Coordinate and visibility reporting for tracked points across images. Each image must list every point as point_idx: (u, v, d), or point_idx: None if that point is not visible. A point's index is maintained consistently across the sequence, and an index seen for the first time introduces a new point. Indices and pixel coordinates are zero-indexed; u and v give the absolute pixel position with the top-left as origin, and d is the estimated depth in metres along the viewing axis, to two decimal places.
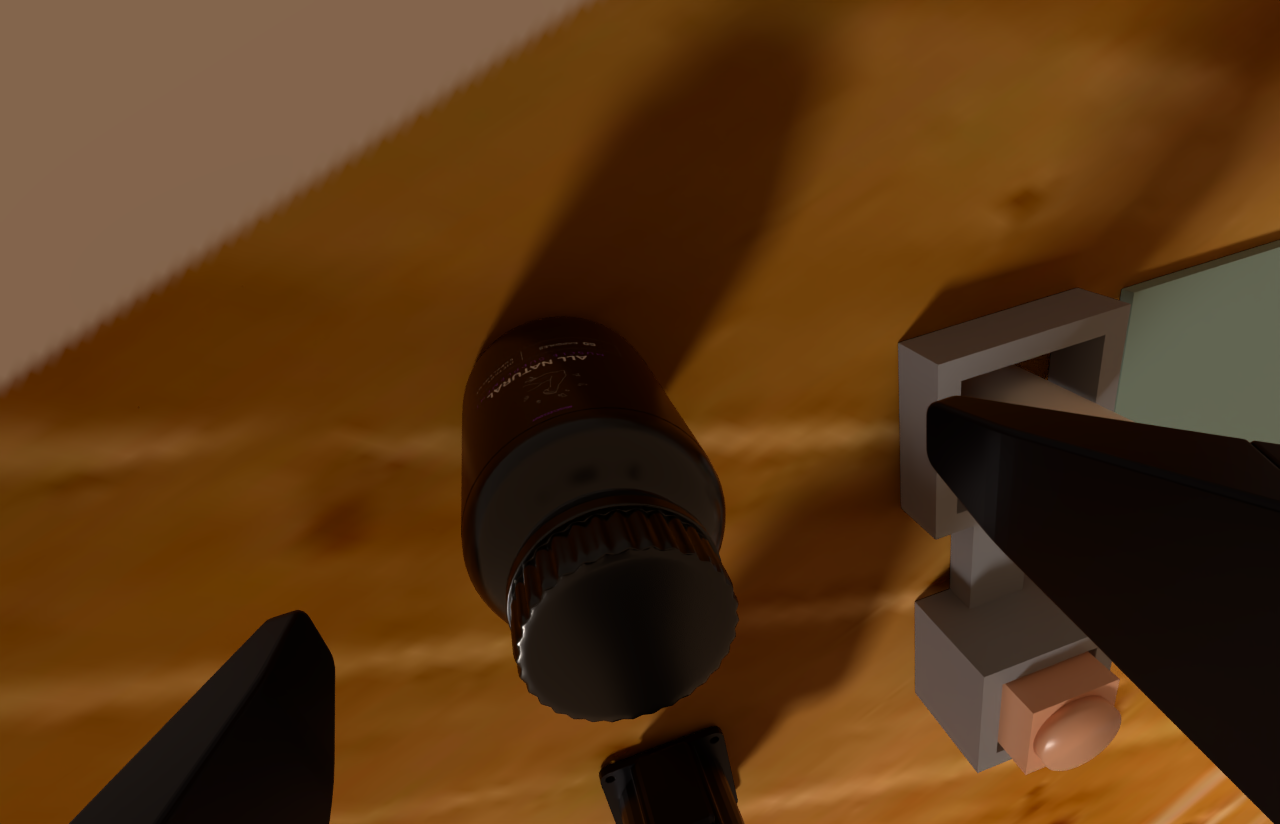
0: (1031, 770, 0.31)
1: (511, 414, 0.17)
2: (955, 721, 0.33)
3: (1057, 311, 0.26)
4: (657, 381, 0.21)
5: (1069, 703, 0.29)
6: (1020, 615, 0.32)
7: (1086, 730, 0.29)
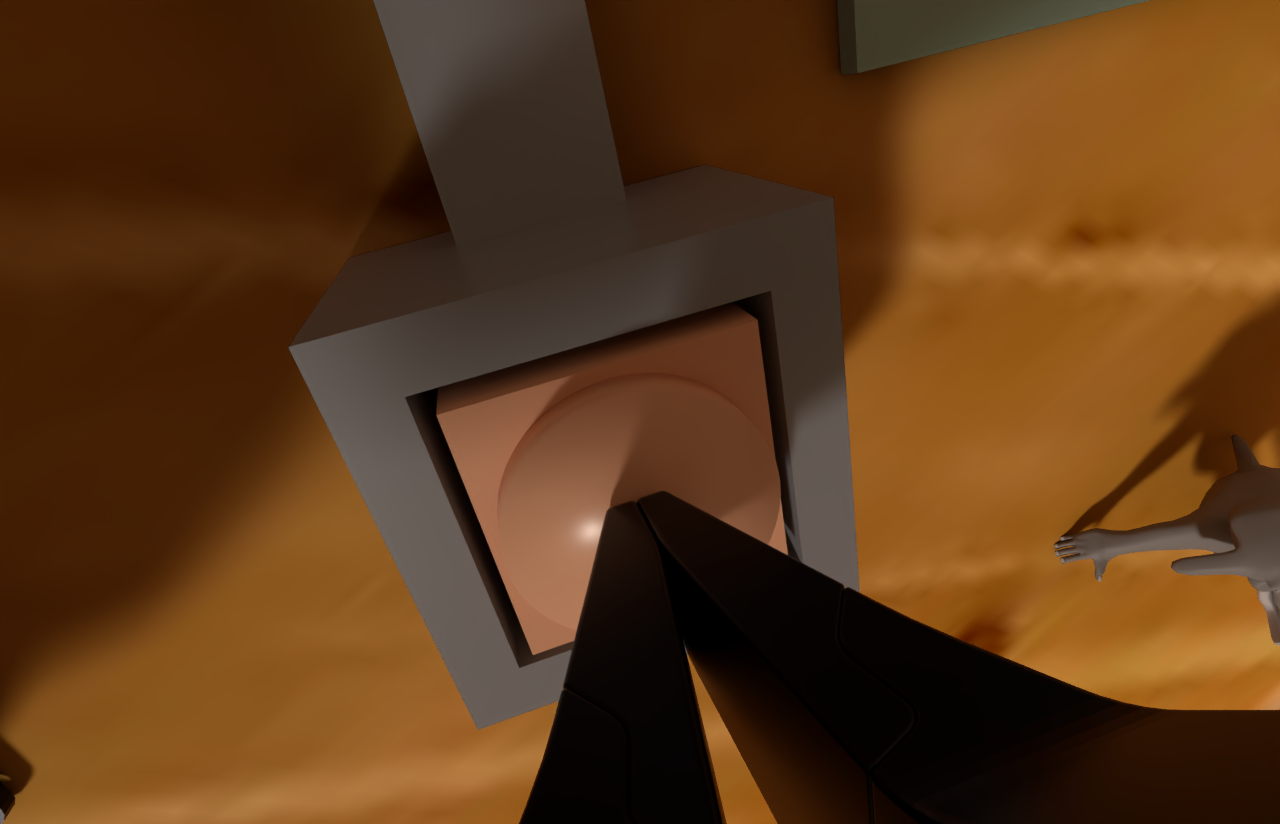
0: (547, 641, 0.10)
1: None
2: None
3: None
4: None
5: (580, 391, 0.09)
6: (567, 232, 0.10)
7: (645, 485, 0.09)
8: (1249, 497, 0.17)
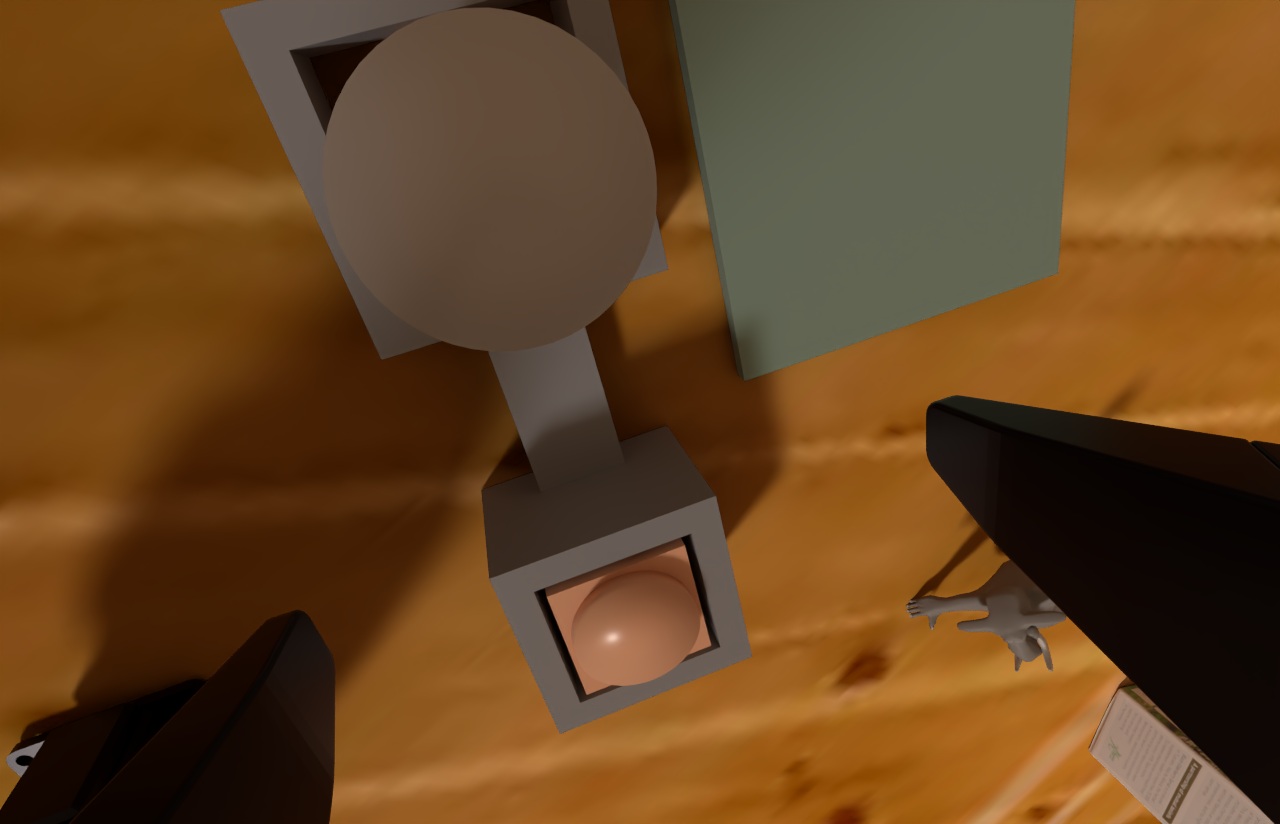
0: (593, 688, 0.21)
1: None
2: None
3: None
4: None
5: (607, 581, 0.20)
6: (597, 495, 0.21)
7: (638, 620, 0.20)
8: (1006, 581, 0.28)
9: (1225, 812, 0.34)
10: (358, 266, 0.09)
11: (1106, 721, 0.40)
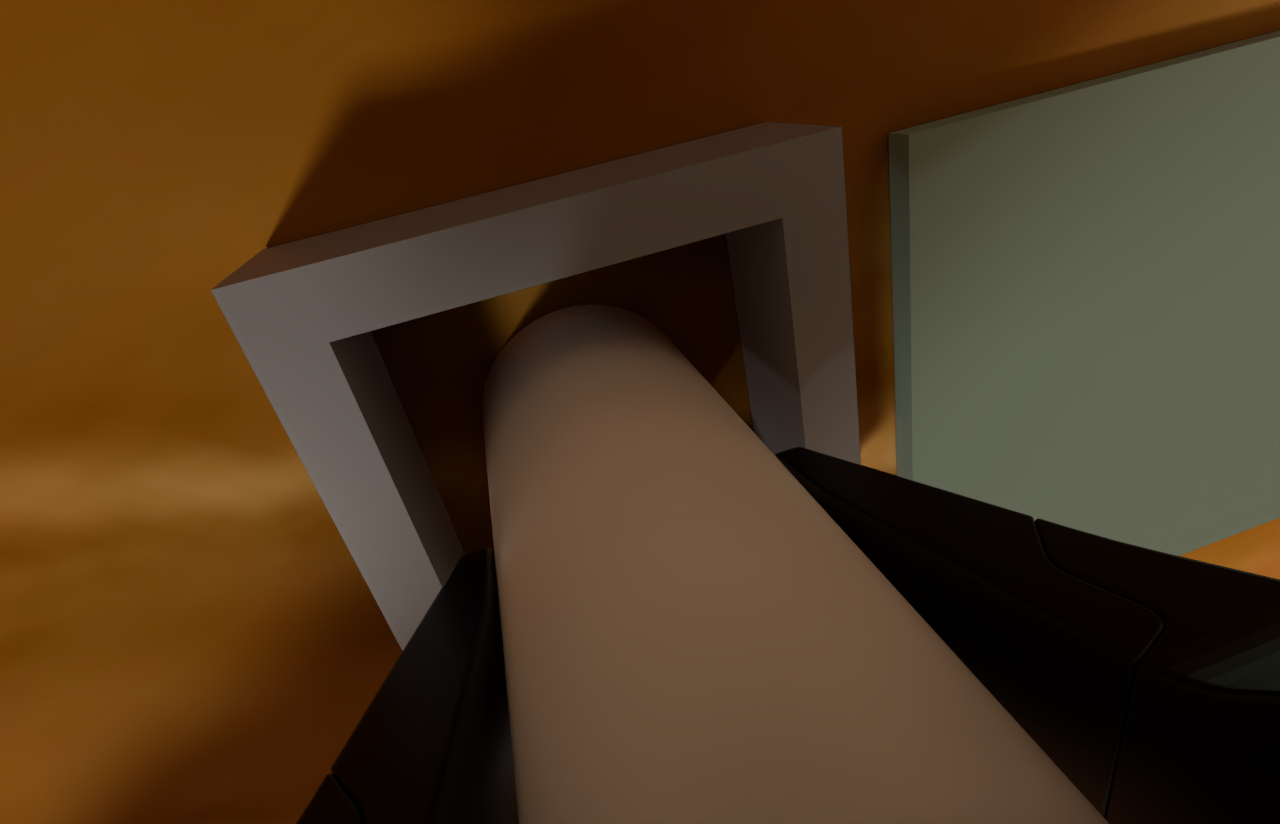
0: None
1: None
2: None
3: (664, 159, 0.10)
4: None
5: None
6: None
7: None
8: None
9: None
10: None
11: None
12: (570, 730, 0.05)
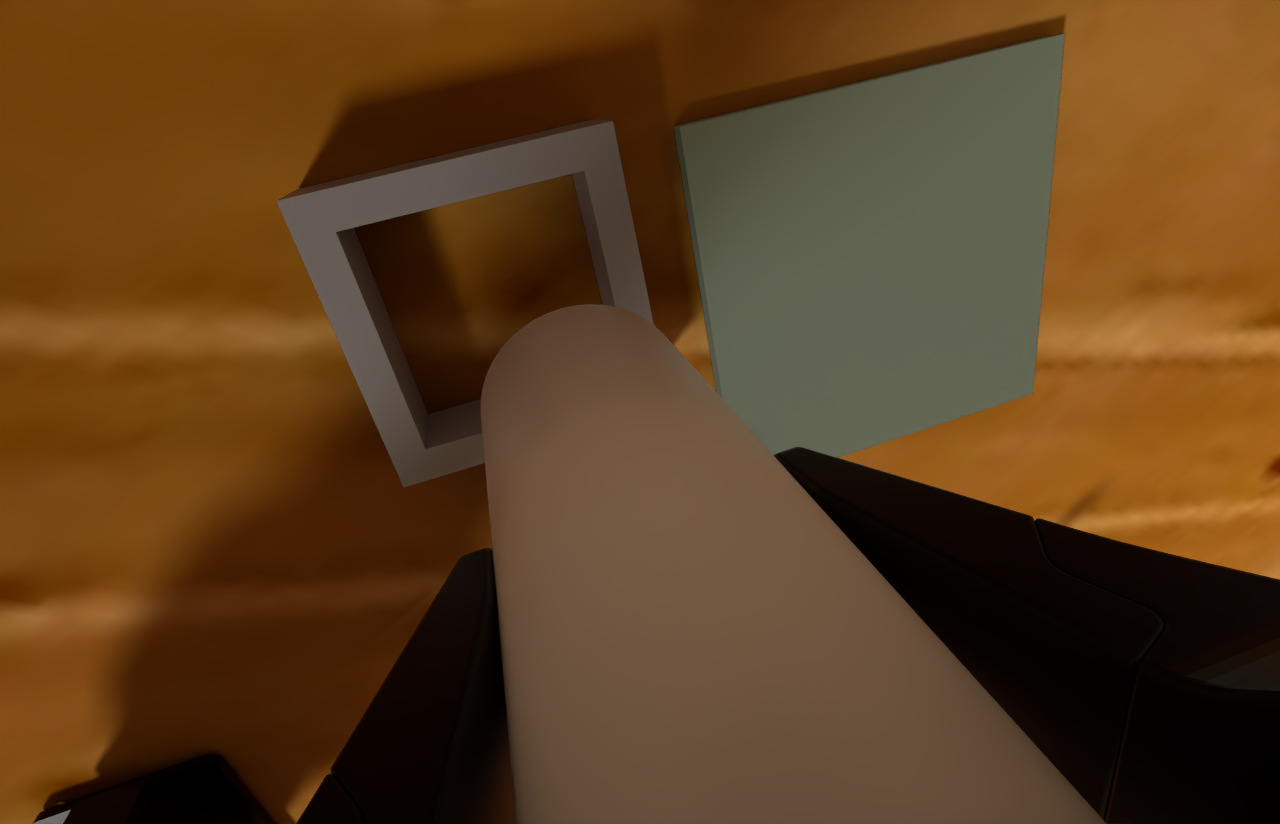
0: None
1: None
2: None
3: (523, 139, 0.18)
4: None
5: None
6: None
7: None
8: None
9: None
10: None
11: None
12: (568, 730, 0.05)
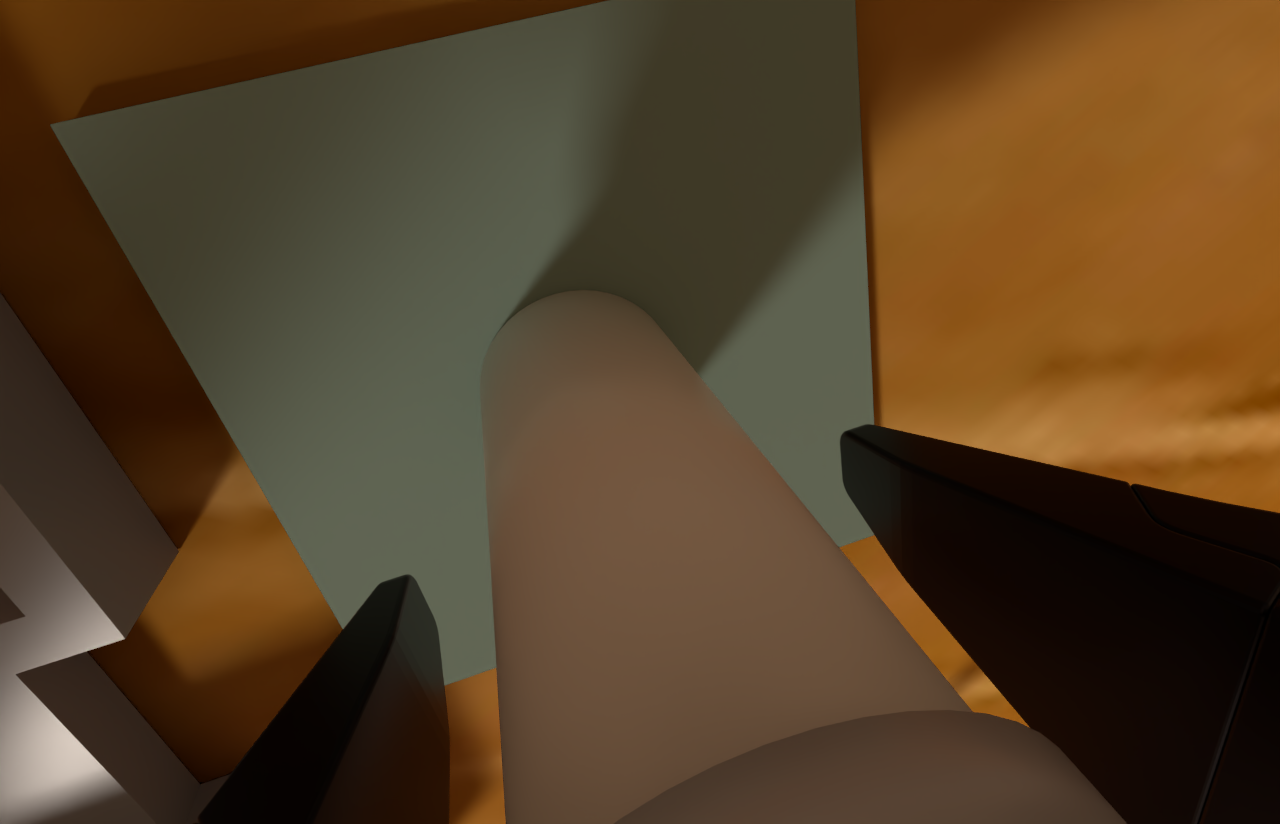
0: None
1: None
2: None
3: None
4: None
5: None
6: None
7: None
8: None
9: None
10: None
11: None
12: (543, 653, 0.06)
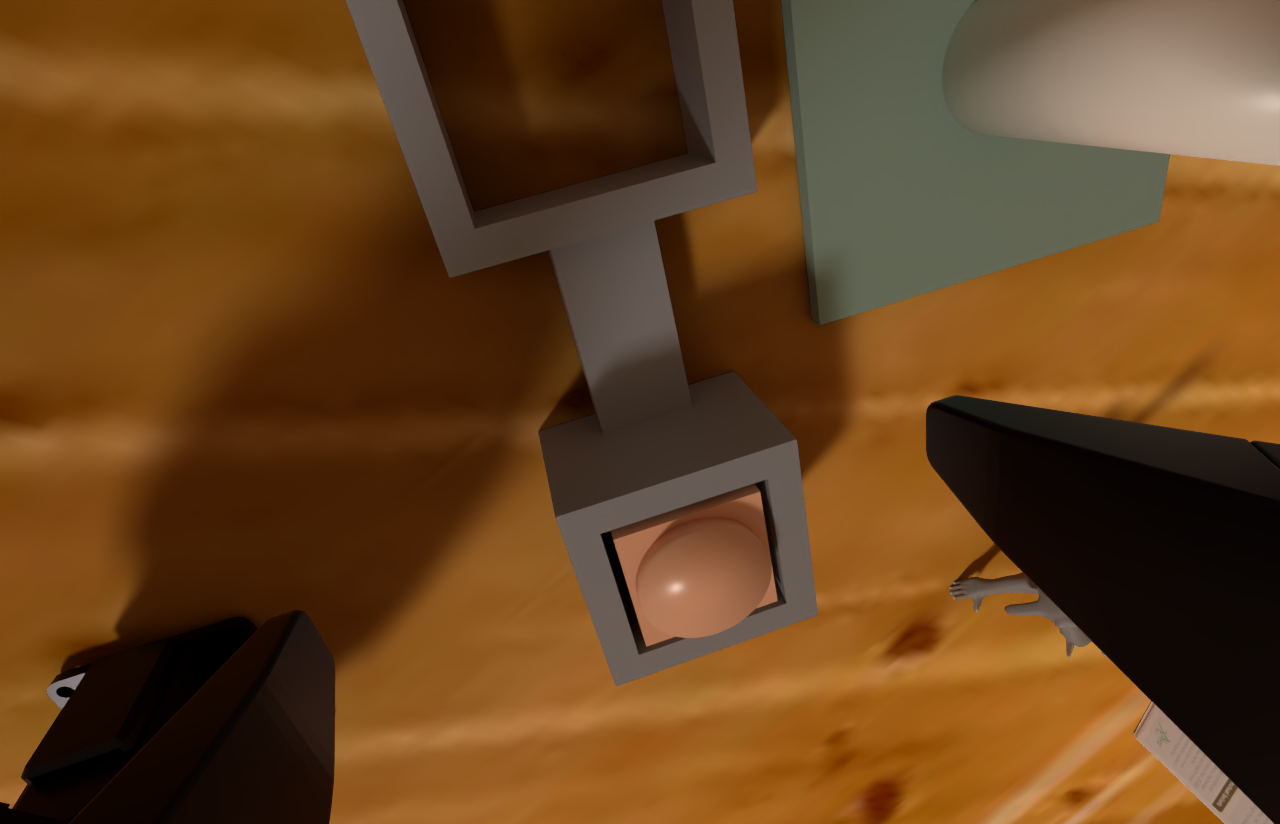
0: (654, 640, 0.20)
1: None
2: None
3: None
4: None
5: (677, 526, 0.19)
6: (665, 437, 0.20)
7: (707, 569, 0.19)
8: None
9: None
10: None
11: (1155, 705, 0.39)
12: None
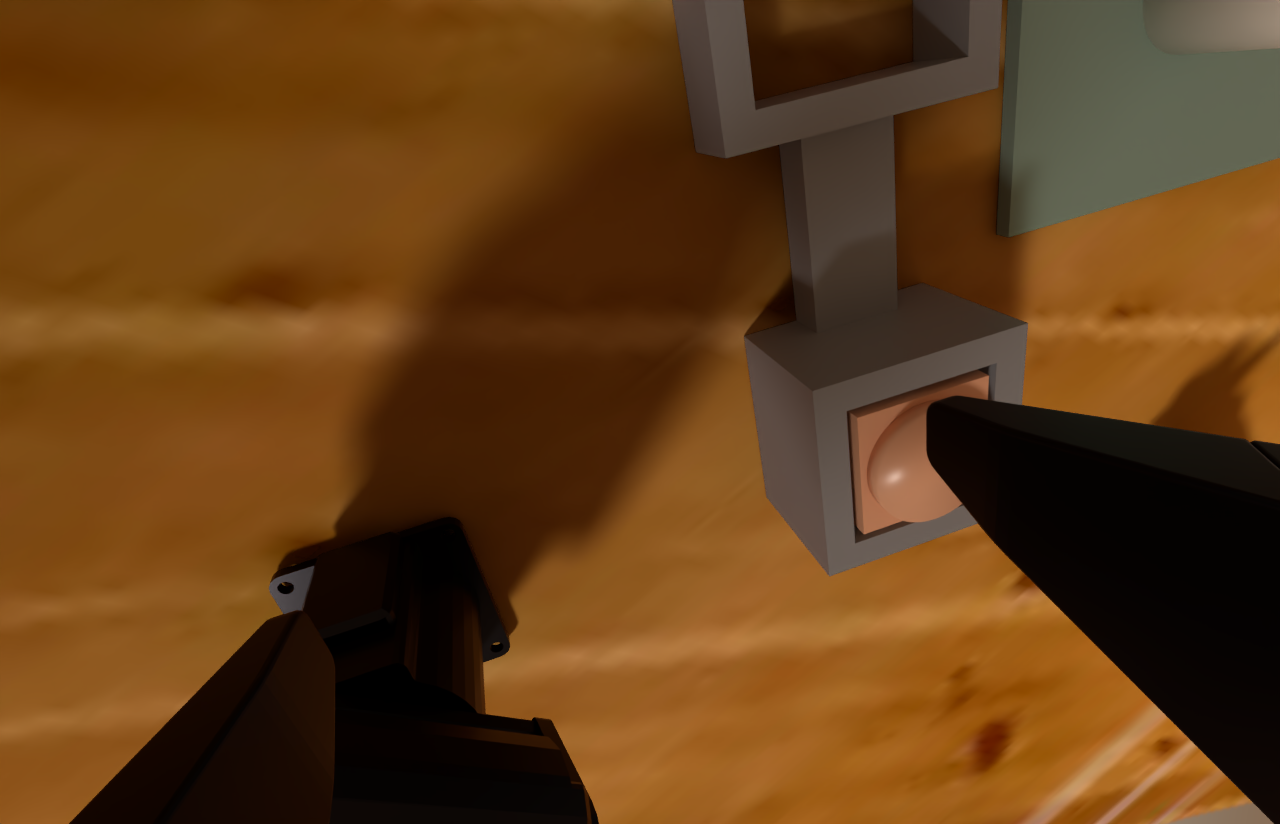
0: (872, 527, 0.21)
1: None
2: (801, 506, 0.23)
3: None
4: None
5: (913, 407, 0.20)
6: (886, 331, 0.21)
7: None
8: None
9: None
10: None
11: None
12: None
